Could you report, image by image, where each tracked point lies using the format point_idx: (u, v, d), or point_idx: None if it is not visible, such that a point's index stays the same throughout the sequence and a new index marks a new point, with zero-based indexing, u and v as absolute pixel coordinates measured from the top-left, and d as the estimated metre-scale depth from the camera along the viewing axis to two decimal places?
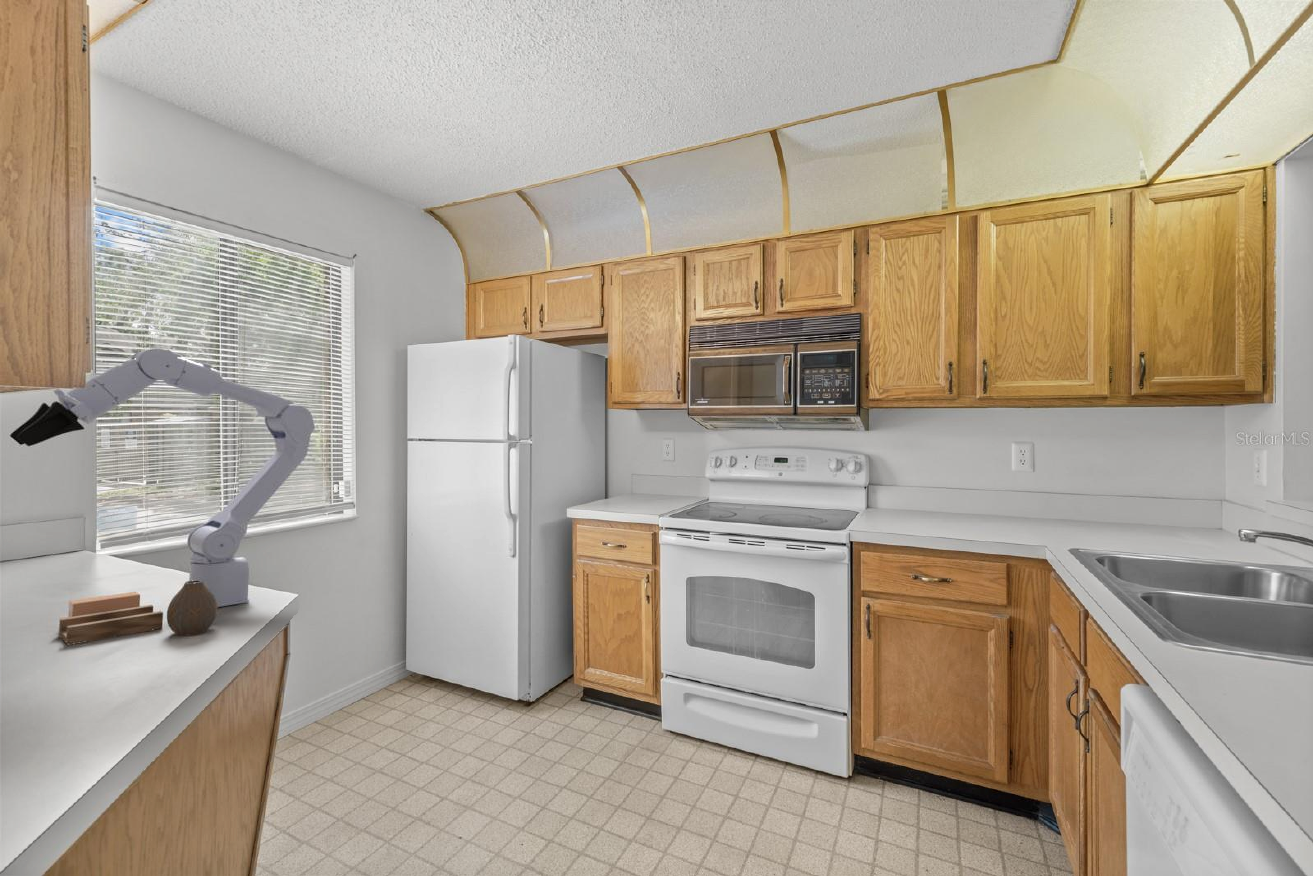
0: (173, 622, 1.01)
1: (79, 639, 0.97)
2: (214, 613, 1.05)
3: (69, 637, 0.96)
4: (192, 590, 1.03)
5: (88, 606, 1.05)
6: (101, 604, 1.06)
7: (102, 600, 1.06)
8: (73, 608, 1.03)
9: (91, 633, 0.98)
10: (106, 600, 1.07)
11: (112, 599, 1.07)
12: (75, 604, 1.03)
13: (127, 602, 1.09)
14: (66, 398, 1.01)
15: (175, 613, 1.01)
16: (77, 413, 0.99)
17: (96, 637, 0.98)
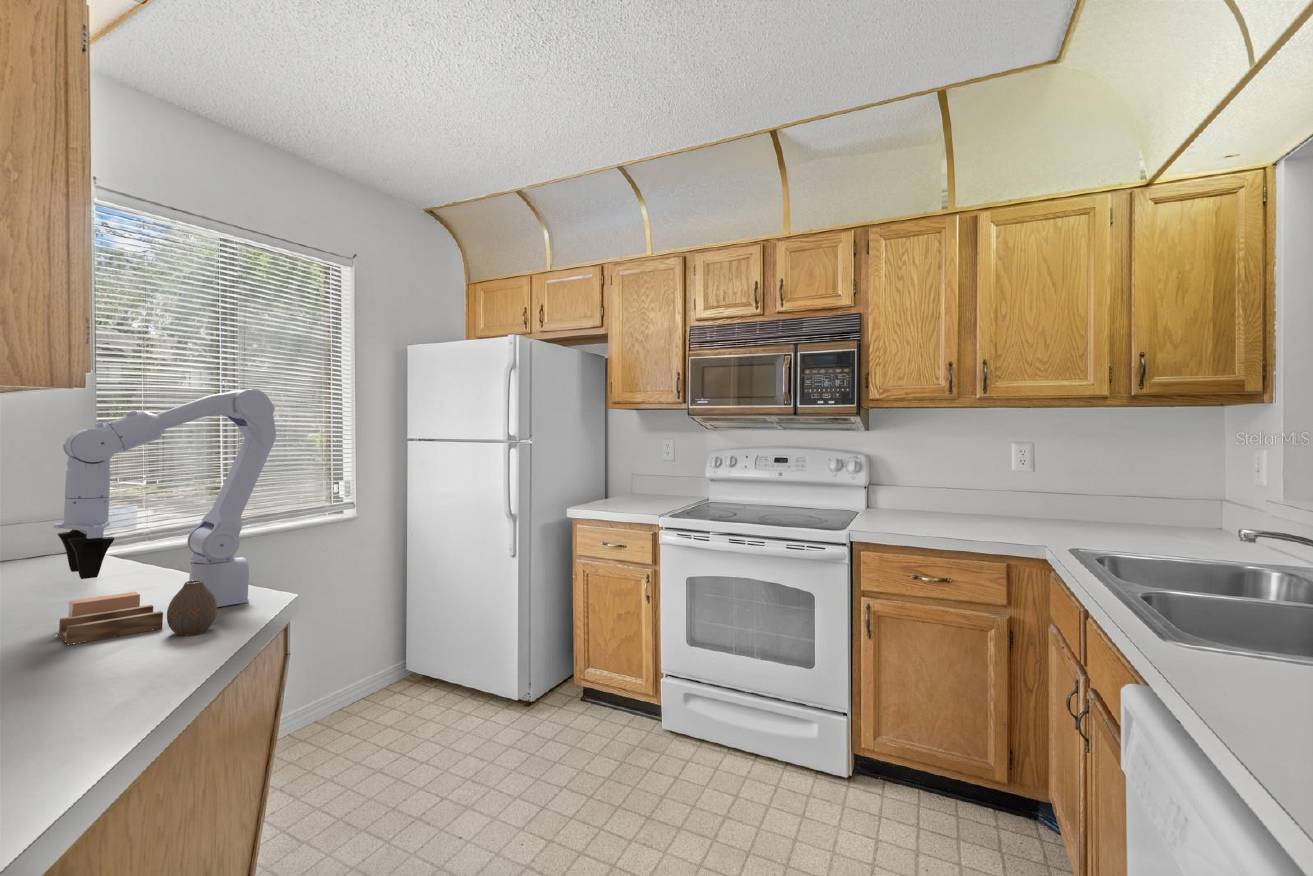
0: (173, 622, 1.01)
1: (79, 639, 0.97)
2: (214, 613, 1.05)
3: (69, 637, 0.96)
4: (192, 590, 1.02)
5: (88, 606, 1.05)
6: (101, 604, 1.06)
7: (102, 600, 1.06)
8: (73, 608, 1.03)
9: (91, 633, 0.98)
10: (106, 600, 1.07)
11: (112, 599, 1.07)
12: (75, 604, 1.03)
13: (127, 602, 1.09)
14: (71, 528, 1.02)
15: (175, 613, 1.00)
16: (96, 536, 1.01)
17: (96, 637, 0.98)
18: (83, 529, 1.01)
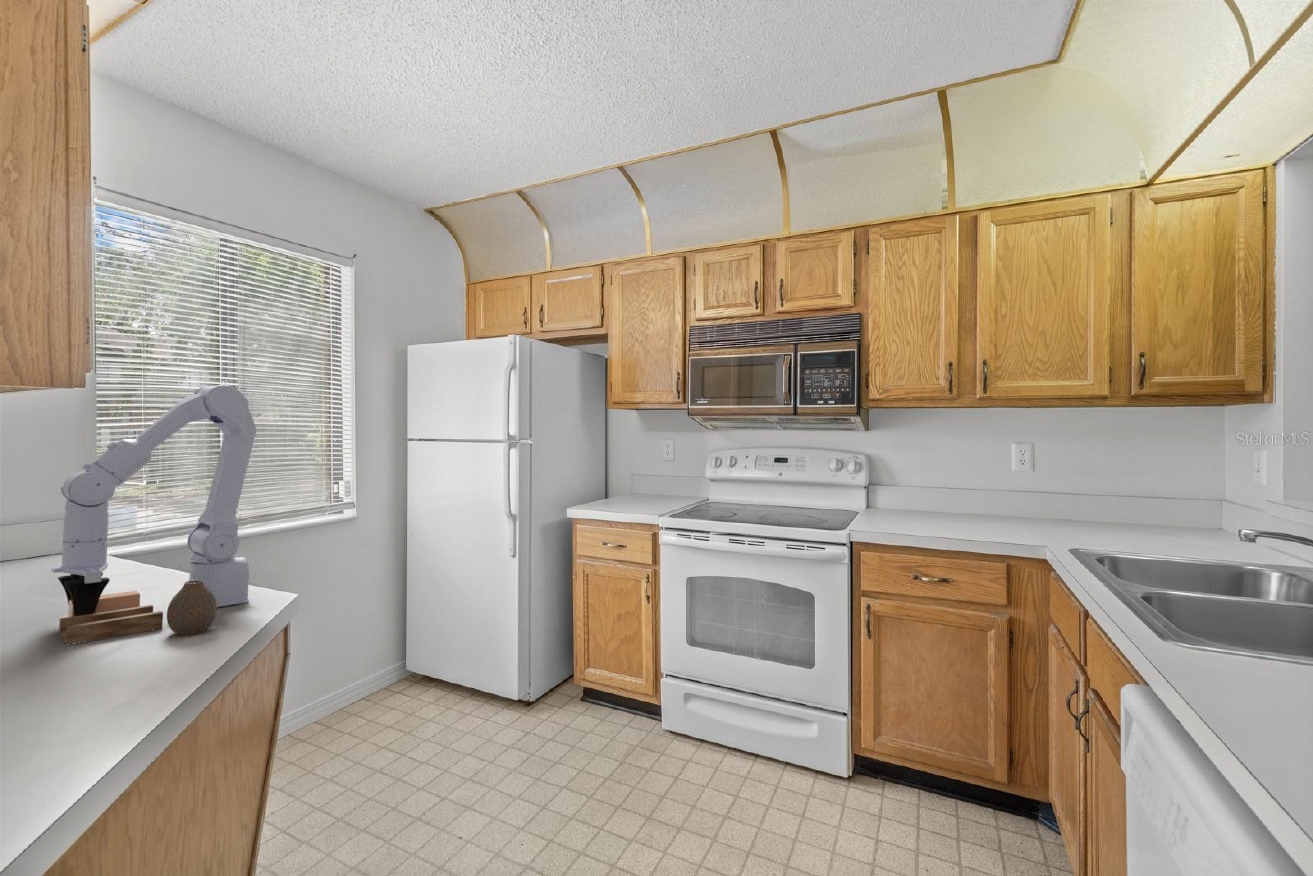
0: (173, 622, 1.01)
1: (79, 639, 0.97)
2: (214, 613, 1.05)
3: (69, 637, 0.96)
4: (192, 590, 1.03)
5: None
6: (101, 603, 1.06)
7: (102, 599, 1.06)
8: None
9: (91, 633, 0.98)
10: (106, 599, 1.07)
11: (112, 598, 1.07)
12: None
13: (127, 601, 1.09)
14: (69, 572, 1.02)
15: (175, 613, 1.00)
16: (94, 581, 1.01)
17: (96, 637, 0.98)
18: (81, 574, 1.01)
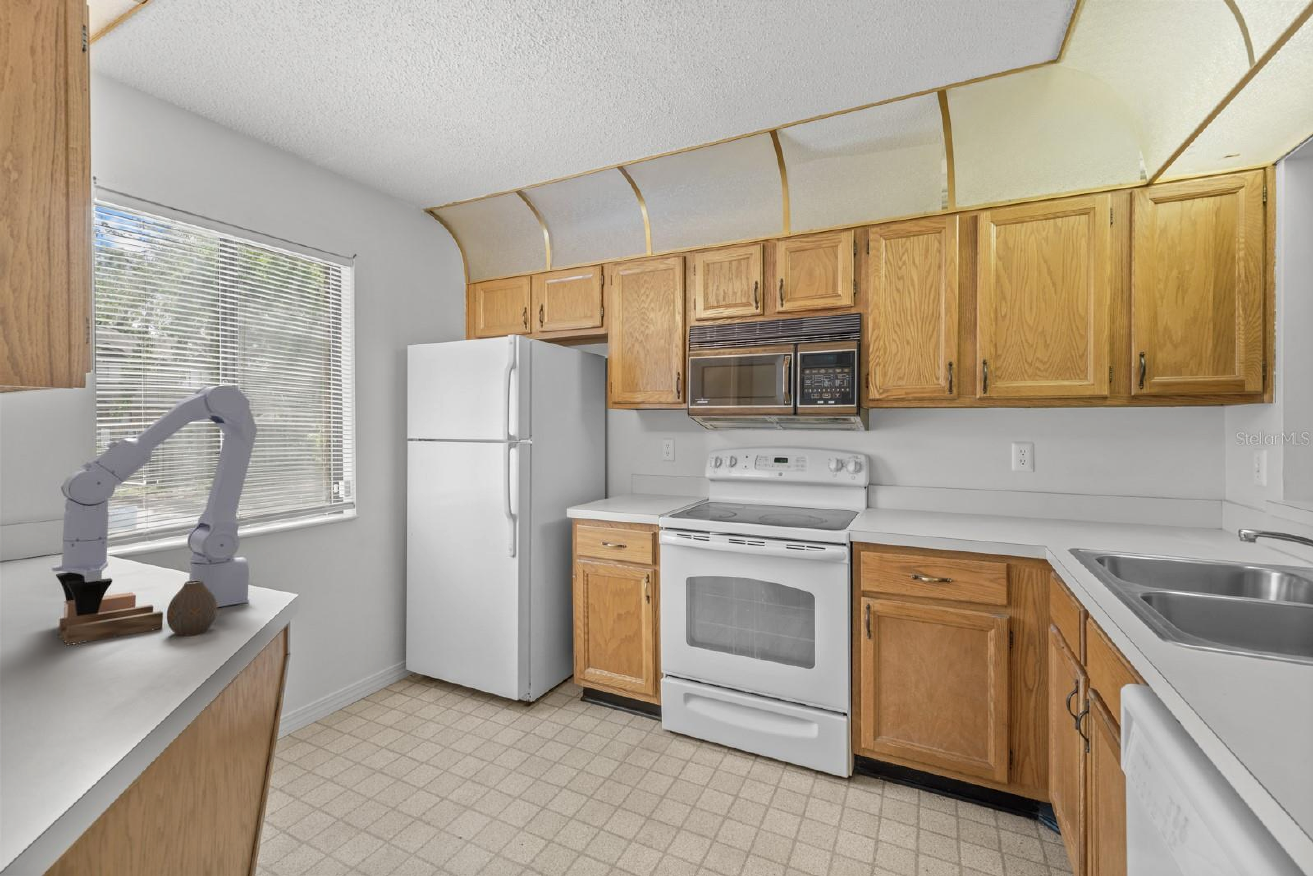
0: (173, 622, 1.01)
1: (79, 639, 0.97)
2: (214, 613, 1.05)
3: (69, 637, 0.96)
4: (192, 590, 1.03)
5: None
6: None
7: None
8: (68, 609, 1.03)
9: (91, 633, 0.98)
10: (101, 601, 1.06)
11: (107, 600, 1.07)
12: (70, 605, 1.03)
13: (122, 602, 1.08)
14: (69, 571, 1.02)
15: (175, 613, 1.00)
16: (94, 579, 1.01)
17: (96, 637, 0.98)
18: (81, 572, 1.01)
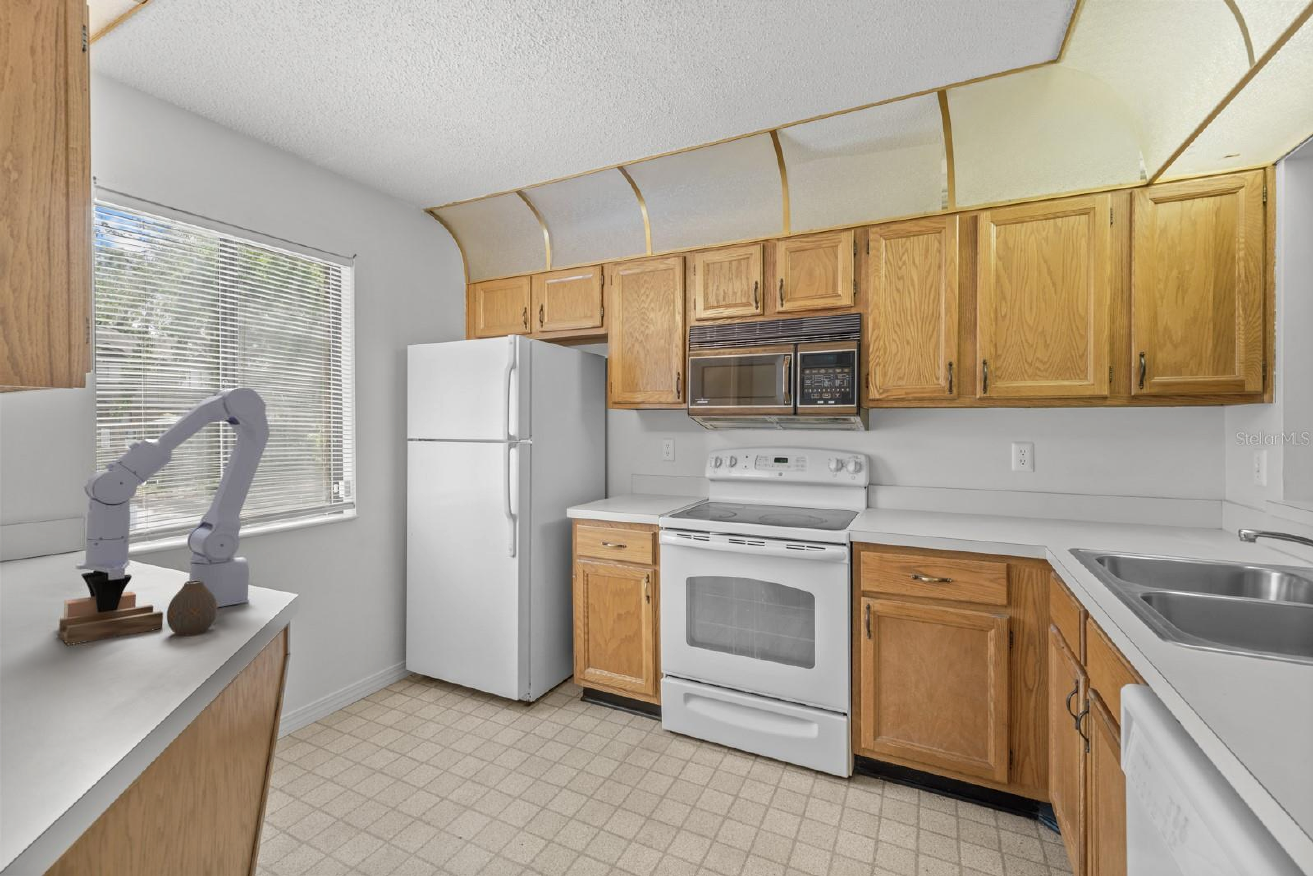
0: (173, 622, 1.01)
1: (79, 639, 0.97)
2: (214, 613, 1.05)
3: (69, 637, 0.96)
4: (192, 590, 1.03)
5: (83, 605, 1.04)
6: None
7: None
8: (68, 608, 1.03)
9: (91, 633, 0.98)
10: None
11: None
12: (70, 604, 1.03)
13: (123, 602, 1.08)
14: (93, 569, 1.04)
15: (175, 613, 1.00)
16: (117, 577, 1.03)
17: (96, 637, 0.98)
18: (105, 570, 1.03)
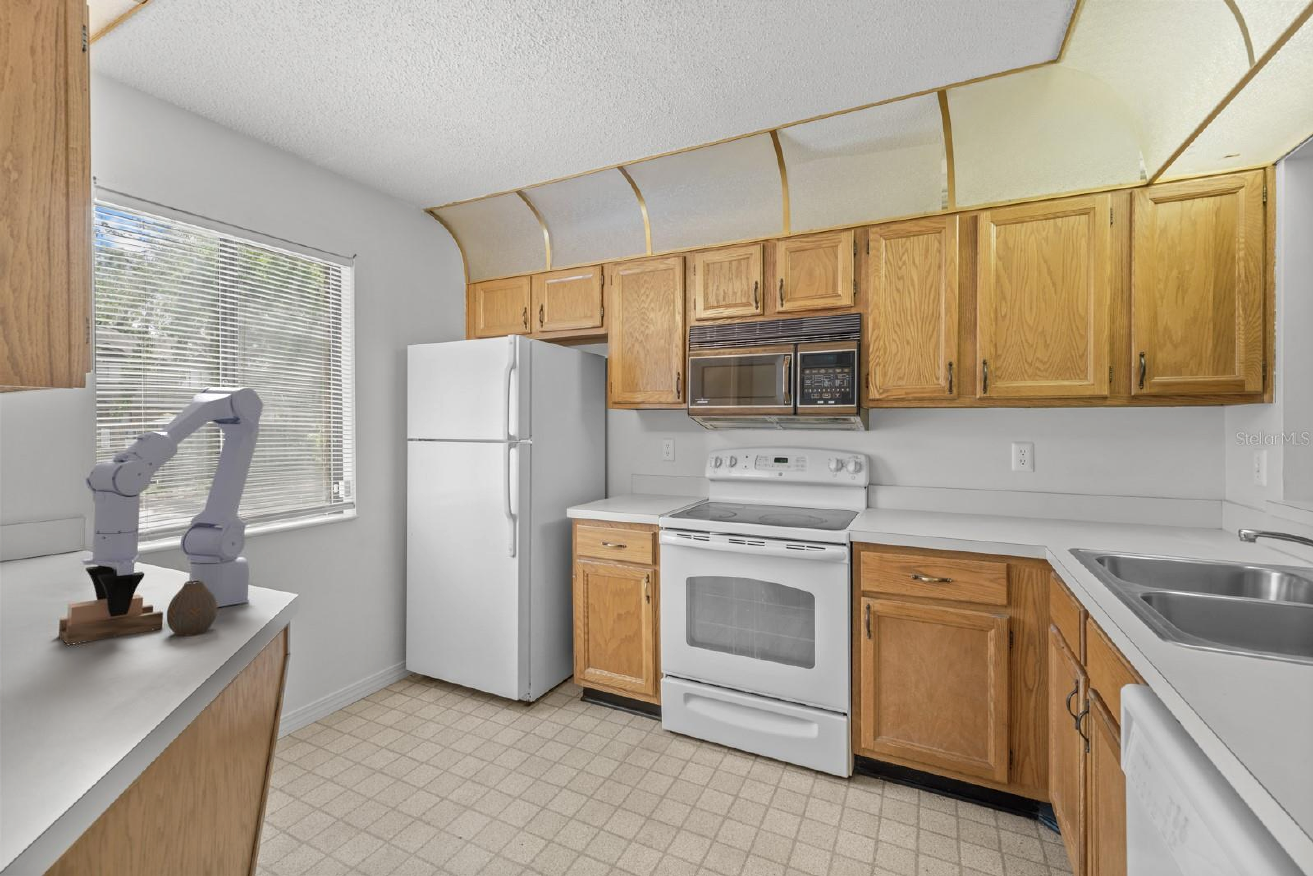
0: (173, 622, 1.01)
1: (79, 639, 0.97)
2: (214, 613, 1.05)
3: (69, 637, 0.96)
4: (192, 590, 1.03)
5: (88, 609, 0.99)
6: (102, 608, 1.00)
7: (103, 603, 1.00)
8: (72, 612, 0.97)
9: (91, 633, 0.98)
10: None
11: None
12: (74, 608, 0.98)
13: None
14: (101, 564, 0.99)
15: (175, 613, 1.01)
16: (126, 573, 0.98)
17: (96, 637, 0.98)
18: (113, 566, 0.98)
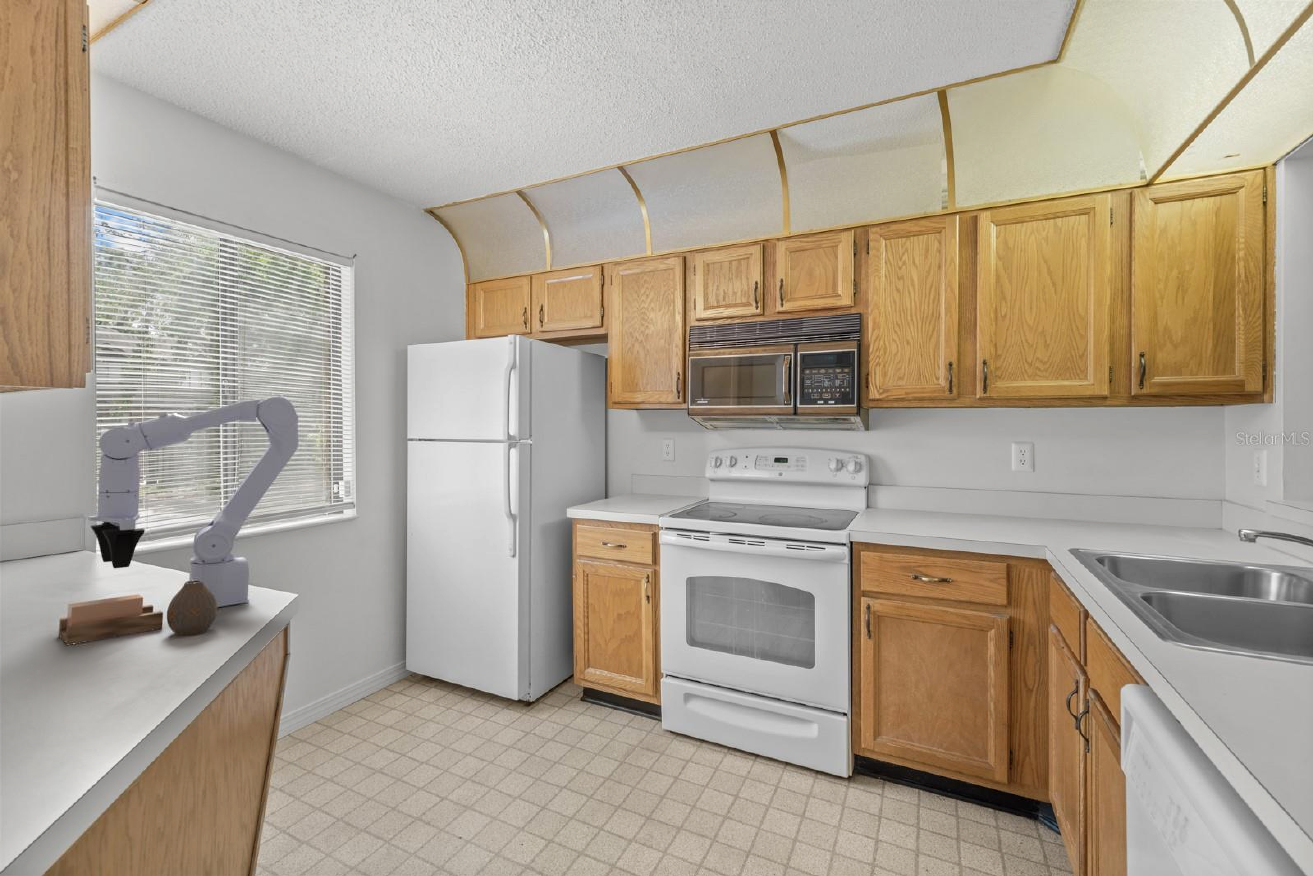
0: (173, 622, 1.01)
1: (79, 639, 0.97)
2: (214, 613, 1.05)
3: (69, 637, 0.96)
4: (192, 590, 1.03)
5: (88, 609, 0.99)
6: (102, 608, 1.00)
7: (103, 603, 1.00)
8: (72, 612, 0.97)
9: (91, 633, 0.98)
10: (107, 603, 1.01)
11: (113, 602, 1.01)
12: (74, 608, 0.98)
13: (129, 605, 1.03)
14: (105, 520, 1.08)
15: (175, 612, 1.01)
16: (128, 528, 1.07)
17: (96, 637, 0.98)
18: (116, 521, 1.07)
